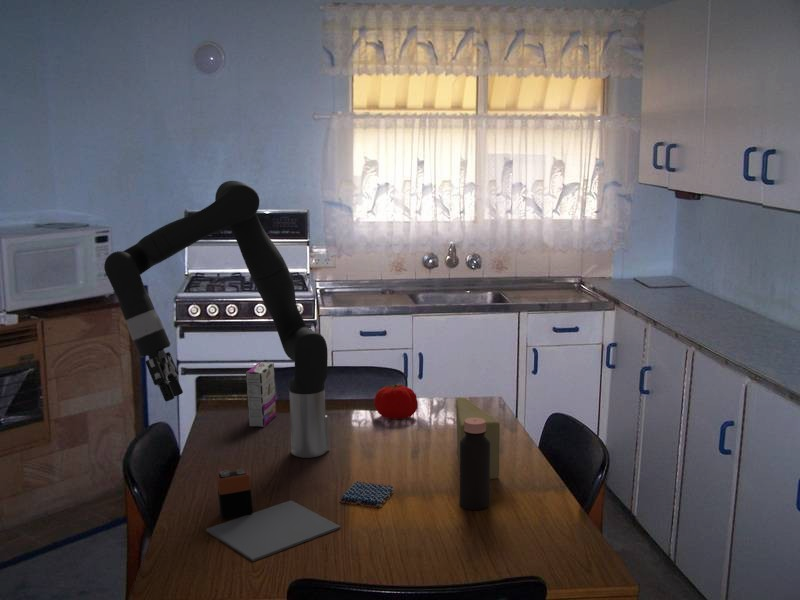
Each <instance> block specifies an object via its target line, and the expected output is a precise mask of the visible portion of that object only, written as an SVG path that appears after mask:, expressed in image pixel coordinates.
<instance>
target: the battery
mask: <svg viewBox="0 0 800 600" xmlns="http://www.w3.org/2000/svg"><path fill="white" fill-rule="evenodd" d="M216 484H217V493H218V495H217V496H218V505H219V513H220V516H221V518H222V519H223V520H226V519H230V518H231V519H232V518H239V517H243V516H246V515H249V514H252V513H254V510H253V501H252V500H253V499H252V490H251V489H252V488H251V479H250V474H249V473H248V471H247V470H246V469H244V468H238V469H236V471H231V472H230V470H222V471H220V472H219V474H217V475H216Z"/></svg>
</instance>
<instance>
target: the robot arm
mask: <svg viewBox="0 0 800 600" xmlns="http://www.w3.org/2000/svg"><path fill="white" fill-rule="evenodd" d="M214 196H215V199H214V201H213V202H212V203H211V204H209V205H208V206H206V207H204V208H203V209H201V210H199V211H197V212H195V213H192V214H189V215H187V216H184V217H182V218H179V219H176V220H174V221H171V222H168V223H167V224H164V225H162V226H161V227H159V228H157V229H156V230H154V231H152V232H151V233H149V234H147V235H145V236H144V237H142V238H141V239H140V240H139V241H138V242H137V243H136V244H133V245H132V246H130V247H128V248H126V249H125V250H121V251H120V250H118V251H115V252H114V251H113V252H112V253H110V254H109V255H108V256H107V257H106V259H105V261H104V264H103V265H104V266H103V267H104V268H103V269H104V272H105V275H106V276H107V279H108V281H109V283H110V284H111V287H112V289H113V292H114V294H115V295H116V298H117V299H118V305H119V308H120V310H121V313H122V315H123V318H124V320H125V322H126V325H127V326H126V327H127V329H128V332H129V335H130V337H131V339H132V342H133V345H134V347H135V349H136V351H137V354H138V356H139V357H140V358H144V357H148V359H147V360H145V365H146V367H147V370H148V372H149V374H150V375H149V376H150V377H151V380H152V381H153V384H154V386H157V387H158V388H159V390H160V392H161V395H162V397H163V400H164V401H165V402H169V401H172V400H174V399H175V397H178V396H180V395H182V394H183V393H184V391H183V389H182V387H181V384H180V381H179V375H180V374H179V373H180V371H178V369H177V367H176V364H175V362H174V360H173V357H172V354H171V352H170V351H168V352H165V349H168V348H170V346H171V341H170V340H169V337H168V335H167V333H166V330H165V328H164V326H163V323H162V320H161V317H160V316H159V314H158V313H157V311H156V310H155V309H156V308H155V306H154V303H153V302H152V299H151V297H150V295H149V293H148V291H147V290H146V288H145V285H144V283H143V279H142V277H141V275H142V274H144V273H145V272H147V271H149V269H151V268H153V267H154V266H156V265H158V264H160V263H163V261H166V260H167V259H169V258H171V257H172V256H174V255H176V254H178V253H179V252H181V251H183V250H185V249H187V248H188V247H190V246H191V245H194V244H195V243H197V242H198V241H200V240H203V239H205V238H206V237H208V236H210V235H212V234H215V233H217V232H219V231H221V230H224V229H226V228H228V227H229V229H230V231H231V232H232V235H233V237H234V239H235V241H236V243H237V245H238V248H239V251H240V253H241V256H242V259H243V260H244V264H245V265H246V268H247V271H248V272H249V276H250V279H251V280H252V282H253V284H254V286H255V288H256V290H257V292H258V294H259V295H260V298H261V300H262V301H263V304H264V307H266V310H267V312H268V313H269V316H270V318H271V319H272V321H273V323H274V325H275V329H276V332H277V335H278V337H279V340H280V343H281V346H282V349H283V351H284V353H285V355H286V356H287V357H288V358H289V359H291V361H293V362H294V376H293V377H291V378H290V379H289V381H288V390H289V392H288V393H289V394H288V395H289V396H288V397H289V415H290V416H289V417H290V418H289V419H290V420H289V421H290V423H289V424H290V445H291V446H290V449H291V455H292V456H294V457H297V458H302V459H303V458H308V459H309V458H310V459H311V458H316V457H320V456H322V455H325V454H326V453H327V452H328V451H330V426H329V425H330V421H329V420H330V419H329V415H326V400H325V399H326V395H325V394H326V392H325V389H326V388H325V385H326V384H325V383H326V382H327V377H328V358H329V356H328V345H327V341H326V338H325V337H324V336H323V334H320V333H319V332H317V331H315V330H312V329H310V328H309V327H308V325H307V324H306V322H305V320H304V319H303V317H302V316H303V315H301V312H300V310H299V307H298V304H297V301H296V291H295V284H294V280H293V276H292V275H291V272H290V269H289V268H288V265H287V263H286V261H285V259H284V256H282V254H281V252H280V251H279V249H278V247H276V246H277V245H275V244H274V242H273V241H272V239H271V238H270V237H269V235H268V234H267V232H266V231H265V229H264V228H263V226H262V223H261V221H260V218H259V216H258V214H257V212H258V210H259V207H260V197H259V196H260V195H259V193H258V192H257V190H255V189H254V188H253V187H252V186H250V185H249V184H247V183H245V182H241V181H239V180H226V181H225V182H222V183H221V184H220V185H219V186H218V187H217V190H216V192H215V195H214Z"/></svg>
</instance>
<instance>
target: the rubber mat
mask: <svg viewBox="0 0 800 600" xmlns="http://www.w3.org/2000/svg"><path fill="white" fill-rule="evenodd" d="M340 529H341V525H339V524H337V523H335V522H333V521H331V520H330V519H328V518H326V517H323V516H321V514H318V513H316V512H314V511H313V510H310V509H309V508H307V507H305V506H303V505H301V504H299V503H298V502H295V501H293V500H292V499H290V500H289V501H284V502H282V503H279V504H275V505H273V506H269V507H266V508H264V509H261V510H258V511H255V512H253V513H252V514H249V515H244V516H239V517H236V518H234V519H231V520H228V521H225V522H223V523H220V524H217V525H214V526H210V527H207V528H206V529H205V530H206V532H207V533H208V534H209V535H211V536H213V537H215V538H216V539H218V540H219V541H220V542H222V543H224V544H225V545H227V546H228V547H230V548H231V549H233V550H235V551H236V552H238V553H239V554H241V555H242V556H244V557H245V558H247V559H248V560H249V561H251V562H255V561H258V560H260V559H263V558H265V557H269V556H272V555H274V554H277V553H279V552H282V551H285V550H287V549H290V548H292V547H295V546H299V545H300V544H303V543H305V542H308V541H311V540H314V539H315V538H316V539H317V538H319V537H321V536H324V535H327V534H329V533H332V532H334V531H337V530H340Z"/></svg>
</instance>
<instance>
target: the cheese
mask: <svg viewBox="0 0 800 600" xmlns="http://www.w3.org/2000/svg"><path fill="white" fill-rule="evenodd" d="M455 401H456V406H455V407H456V412H455V413H456V414H455V416H456V417H455V418H456V440H457V441H456V450H457V455H458V459H459V461H460V441H461V440H462V438H463V437H464V436H465V432H464V420H465V419H467V418H475V417H476V418H482V419H484V420H486V433H485V437H486V438H487V439H488V440H489V442H490V480H497V479H499V477H500V442H501V441H500V432H501V429H500V428H501V425H500V424H501V423H500V422H499V421H497V420H496V419H495V418H493V417H492V416H491V415H489V413H487V412H486V411H484V410H482V409H481V408H480V407H478V406H477V405H476V404H474V403H473V402H472V401H470V400H469V399H468V398H466V397H457V398H456V400H455Z"/></svg>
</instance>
